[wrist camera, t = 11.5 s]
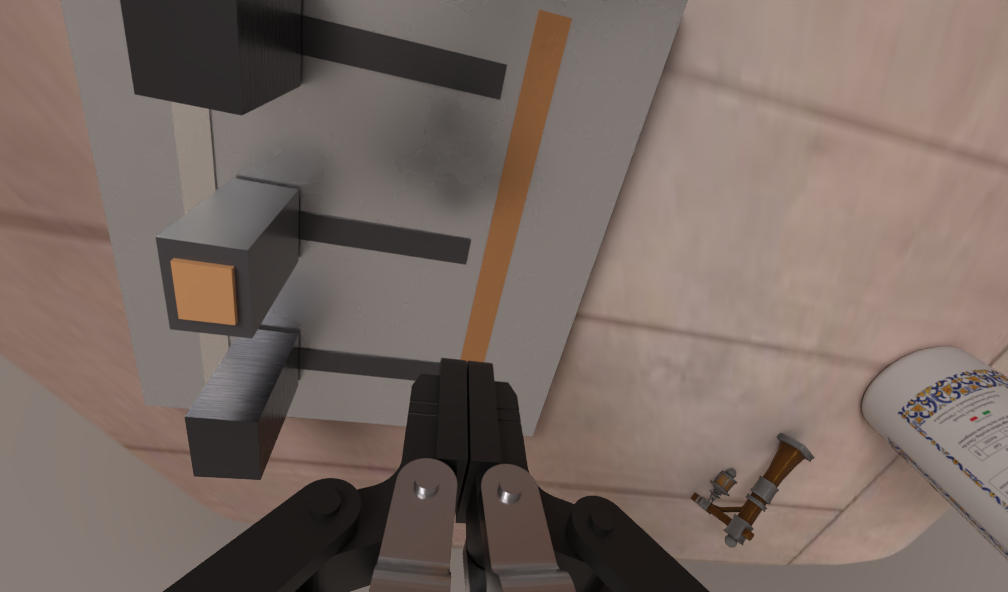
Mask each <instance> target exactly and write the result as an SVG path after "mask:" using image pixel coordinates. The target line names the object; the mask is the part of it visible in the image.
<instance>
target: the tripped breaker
mask: <svg viewBox="0 0 1008 592" xmlns="http://www.w3.org/2000/svg"><path fill="white" fill-rule="evenodd" d="M156 244H157V250H158V257H159V263H160V269H161V276H162V282H163V288H164V295H165V301H166V307H167V314H168V320H169V327H170V329H171V330H180V331H189V332H198V333H207V334H216V335H225V336H234V337H243V338H253V336H254V335H255V333H256V331H257V330H258V328H259V326H260V325H261V323H262V321H263V320H264V318H265V316H266V315H267V313H268V311H269V310H270V308H271V306H272V305H273V303H274V301H275V300H276V298H277V296H278V295H279V293H280V291H281V290H282V288H283V286H284V285H285V283H286V281H287V280H288V278H289V276H290V275H291V273H292V271H293V270H294V268H295V266H296V265H297V263H298V245H299V189H294V188H288V187H282V186H276V185H271V184H265V183H259V182H253V181H247V180H242V179H236V178H231V179H230V180H229V181H227V182H226V183H225V184H224V185H222V186H221V187H220V188H218V189H217V190H216V191H214V192H213V193H212V194H211V195H209V196H208V197H207V198H205V199H204V200H203V201H201V202H200V203H199V204H198V205H196V206H195V207H194V208H192V209H191V210H190V211H188V212H187V213H186V214H185V215H183V216H182V217H181V218H179V219H178V220H177V221H175V222H174V223H173V224H172V225H170V226H169V227H168V228H166V229H165V230H164V231H162V232H161V233H160V234H159V235H157V236H156Z"/></svg>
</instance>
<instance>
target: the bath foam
mask: <svg viewBox="0 0 1008 592" xmlns="http://www.w3.org/2000/svg"><path fill="white" fill-rule="evenodd" d="M862 412H863V415H864V418H865V419H866V421H867V422H868V423H869V424H870V425H871V426H872V427H873V428H874V429H875V430H876V431H877V432H878V433H879V434H880V435H881V436H882V437H883V438H884V439H885V440H886V441H887V442H888V443H889V444H890V445H891V446H892V447H893V448H894V449H895V450H896V451H897V452H898V453H899V454H900V455H901V456H902V457H903V458H904V459H905V460H906V461H907V462H908V463H909V464H910V465H911V466H912V467H913V468H914V469H915V470H916V471H917V472H918V473H919V474H920V475H921V476H922V477H923V478H924V479H925V480H926V481H927V482H928V483H929V484H930V485H931V486H932V487H933V488H934V489H935V490H936V491H937V492H938V493H939V494H940V495H941V496H942V497H944V498H945V499H946V500H947V501H948V502H949V503H950V504H951V505H952V506H953V507H954V508H955V509H956V510H957V511H958V512H959V513H960V514H961V515H962V516H963V517H964V518H965V519H966V520H967V521H968V522H969V523H970V524H971V525H972V526H973V527H974V528H975V529H976V530H977V531H978V532H979V533H980V534H981V535H982V536H983V537H984V538H985V539H986V540H988V541H989V543H990V544H992V546H994V547H995V548H996V549H997V550H998V551H999V552H1000V553H1001V554H1002V555H1003V556H1004V557H1005V558H1006V559H1007V560H1008V378H1007V377H1006V376H1004V375H1003V374H1001V373H999V372H998V371H996V370H994V369H993V368H991V367H990V366H988V365H987V364H985V363H984V362H982V361H981V360H979V359H978V358H976V357H975V356H973V355H971V354H970V353H968V352H966V351H964V350H962V349H959V348H955V347H948V346H941V347H933V348H928V349H923V350H919V351H916V352H913V353H911V354H908V355H906V356H904V357H902V358H900V359H899V360H897V361H895V362H894V363H892V364H891V365H889V366H888V367H887V368H885V369H884V370H883V371H882V372H881V373H880V374H879V375H878V376H877V377H876V378H875V379H874V380H873V381H872V383H871V384H870V385H869V387H868V388H867V390H866V392H865V394H864V397H863V401H862Z"/></svg>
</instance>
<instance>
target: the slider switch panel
mask: <svg viewBox="0 0 1008 592" xmlns="http://www.w3.org/2000/svg"><path fill="white" fill-rule="evenodd" d="M60 1H61V5H62V10H63V15H64V20H65V25H66V29H67V34H68V39H69V44H70V48H71V53H72V58H73V63H74V68H75V72H76V77H77V82H78V87H79V91H80V96H81V101H82V106H83V111H84V115H85V120H86V125H87V130H88V134H89V139H90V144H91V149H92V154H93V158H94V163H95V168H96V173H97V178H98V182H99V187H100V192H101V197H102V201H103V206H104V211H105V216H106V221H107V225H108V230H109V235H110V240H111V244H112V249H113V254H114V259H115V264H116V268H117V273H118V278H119V283H120V288H121V292H122V297H123V302H124V307H125V311H126V316H127V321H128V326H129V331H130V335H131V340H132V345H133V350H134V354H135V359H136V364H137V369H138V374H139V378H140V383H141V388H142V393H143V397H144V402H145V405H149V406H161V407H174V408H186V409H189V411H188V412H187V414H186V415H185V422H186V429H187V435H188V441H189V448H190V454H191V461H192V467H193V474H194V476H198V477H217V478H235V479H253V480H261V478H262V475H263V473H264V470H265V468H266V465H267V463H268V460H269V458H270V455H271V453H272V450H273V448H274V445H275V443H276V440H277V438H278V435H279V433H280V430H281V428H282V425H283V423H284V420H285V418H286V417H297V418H310V419H322V420H334V421H347V422H359V423H371V424H384V425H396V426H406V425H407V417H408V410H409V403H410V395H411V388H412V385H413V383H414V382H415V381H416V379H417V378H418V377H419V376H420V374H430V375H438V372H439V366H440V361H441V358H450V359H459V360H466V363H467V361H468V360H469V361H478V362H487V363H492V364H493V369H494V380H495V381H499V382H508V383H509V384H510V386H511V387H512V389H513V390H514V392H515V393H516V395H517V398H518V405H519V413H520V418H521V425H522V432H523V436H533V434H534V431H535V428H536V425H537V422H538V420H539V417H540V414H541V411H542V408H543V405H544V403H545V400H546V397H547V394H548V391H549V389H550V386H551V383H552V380H553V377H554V375H555V372H556V369H557V366H558V363H559V361H560V358H561V355H562V352H563V349H564V346H565V344H566V341H567V338H568V335H569V332H570V330H571V327H572V324H573V321H574V318H575V316H576V313H577V310H578V307H579V304H580V302H581V299H582V296H583V293H584V290H585V287H586V285H587V282H588V279H589V276H590V273H591V271H592V268H593V265H594V262H595V259H596V257H597V254H598V251H599V248H600V245H601V243H602V240H603V237H604V234H605V231H606V228H607V226H608V223H609V220H610V217H611V214H612V212H613V209H614V206H615V203H616V200H617V198H618V195H619V192H620V189H621V186H622V184H623V181H624V178H625V175H626V172H627V169H628V167H629V164H630V161H631V158H632V155H633V153H634V150H635V147H636V144H637V141H638V139H639V136H640V133H641V130H642V127H643V125H644V122H645V119H646V116H647V113H648V110H649V108H650V105H651V102H652V99H653V96H654V94H655V91H656V88H657V85H658V82H659V80H660V77H661V74H662V71H663V68H664V66H665V63H666V60H667V57H668V54H669V51H670V49H671V46H672V43H673V40H674V37H675V35H676V32H677V29H678V26H679V23H680V21H681V18H682V15H683V12H684V9H685V7H686V4H687V1H688V0H60ZM231 178H236V179H242V180H247V181H253V182H259V183H265V184H271V185H276V186H282V187H288V188H294V189H299V245H298V263H297V265H296V266H295V268H294V270H293V271H292V273H291V275H290V276H289V278H288V280H287V281H286V283H285V285H284V286H283V288H282V290H281V291H280V293H279V295H278V296H277V298H276V300H275V301H274V303H273V305H272V306H271V308H270V310H269V311H268V313H267V315H266V316H265V318H264V320H263V321H262V323H261V325H260V326H259V328H258V330H257V331H256V333H255V335H254V336H253V338H243V337H234V336H225V335H216V334H207V333H198V332H189V331H180V330H171V329H170V327H169V320H168V314H167V307H166V301H165V295H164V288H163V282H162V276H161V269H160V263H159V257H158V250H157V244H156V236H157V235H159V234H160V233H161V232H162V231H164V230H165V229H166V228H168V227H169V226H170V225H172V224H173V223H174V222H175V221H177V220H178V219H179V218H181V217H182V216H183V215H185V214H186V213H187V212H188V211H190V210H191V209H192V208H194V207H195V206H196V205H198V204H199V203H200V202H201V201H203V200H204V199H205V198H207V197H208V196H209V195H211V194H212V193H213V192H214V191H216V190H217V189H218V188H220V187H221V186H222V185H224V184H225V183H226V182H227V181H229V180H230V179H231Z"/></svg>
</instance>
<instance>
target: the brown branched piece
mask: <svg viewBox="0 0 1008 592" xmlns="http://www.w3.org/2000/svg"><path fill="white" fill-rule="evenodd" d="M777 438H778V439H779V440H780V441H781V444H780V446H779V449H778V451H777V453H776V455H775V457H774V459H773V461H772V463H771V465H770V467H769V469H768V470H767V472H766V473H765V474H764V476H763V477H762V476H760V477H759V480H758V481H757V482H756V484H755V485H754V487H753V488H751V489H750V490H751V491H752V493H751V495H750V494H747V496H746V498H747V499H748V500H747V501H746V503H745V504H744V505H743V506H742V507H718V506H715V505H713V504H712V502H713V501H714V500H715V499H716V498H719V499H721V498H720V497H719V496H718V495H721V494H724V495H727V496H730V495H729V494H728V491H729V490H730V489H731V487H732V486H733V485H734V484H737V482H736V481H735V480H734V479H733V478H734V477H735V476H736V471H735V470H734V469H728V470H727V471H726V473H725V472H724V471H721V472H720V474H719V476H718V477H717V479H716V480H715V481H714V482H713V481H712V480H711V483H712V484H713V486H714V489H713V490H714V492H713V491H711V490H710V491H711V493H712V494H711V495H710V498H709V499H708V500H707V499H705V498H704V497H703V498H702V497H701V496H700V495H698V494H697V493H696V492H695V493H694V495H693V496H692V497H691V499H692V500H693V501H694V502H696V503H697V504H698V505H699V506H700V507H701V508H703V509H704V510H705V511H707V512H708V513H709V514H713V515H714V516H715V517H717V518H718V519H719V520H721V521H722V522H723V523H725V524H726V525H727V528H726V529H724V531H725V532H726V533H727V534H728V535H727V536H726V537H725V543H726V544H727V545H728V546H729V547H735V546H736V545H737V542H739V543H740V544H741V545H743V543H744V541H745V540H746V539H748V540H749V541H750V540H751V539H752V538H753V537H754V534H753V533H752V532H751V531H752V530H753V528H752V527H751V526H752V524H753V523H754V521H755V520H756V518H757V517H758V515H759V514H760V512H761V511H762V510H763V511H764V512H765V510H766V509H767V508H766V507H765V505H766V504H769V505H770V502H771V500H772V498H773V497H774V495H775V494H776V493H777V492H778V491H779V490H778V489H777V487H778V486H779V484H780V483H781V482H782V480H783V479H784V478H785V477H786V476H787V475H788V474H789V473H790V472H791V471H792V470H793V469H794V468H795V467H796V466H797V465H798V464H799V463H800V462H801V461H802V460H804V459H806V460H808V461H810V462H811V460H812V459H814V456H813V455H812V454H811V452H810V451H809V450H808V449H807V447H806V446H805V445H803V444H801V443H800V442H798V441H796V440H794V439H792V438H790V437H788V436H786V435H784V434H782V433H780V434H779V435H778V436H777ZM712 495H713V496H714V497H715V498H713V497H711V496H712ZM710 499H712V501H711V502H710V501H709V500H710ZM723 512H740V513H739V514H738V516H737V515H736V514H734V517H733V519H731V518H730V517H728V516H727V515H726V514H724V513H723Z"/></svg>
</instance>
